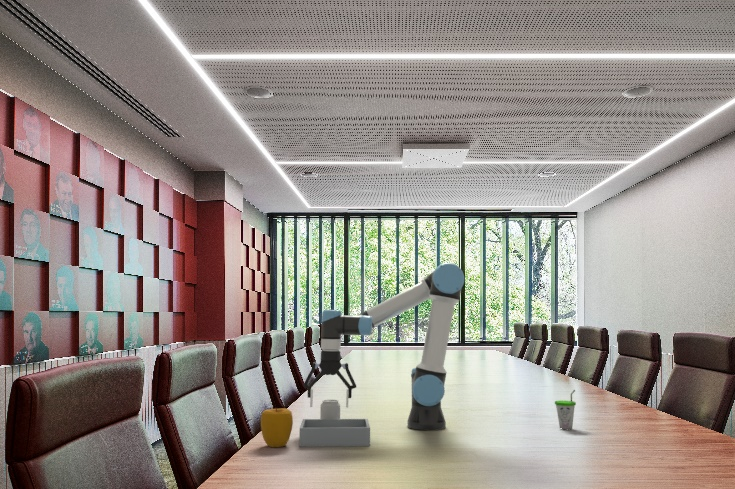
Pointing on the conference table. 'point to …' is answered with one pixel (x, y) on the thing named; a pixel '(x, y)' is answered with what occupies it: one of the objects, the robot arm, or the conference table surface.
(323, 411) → the can
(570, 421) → the cup
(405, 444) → the conference table surface
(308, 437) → the walled box
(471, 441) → the conference table surface
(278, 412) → the apple
